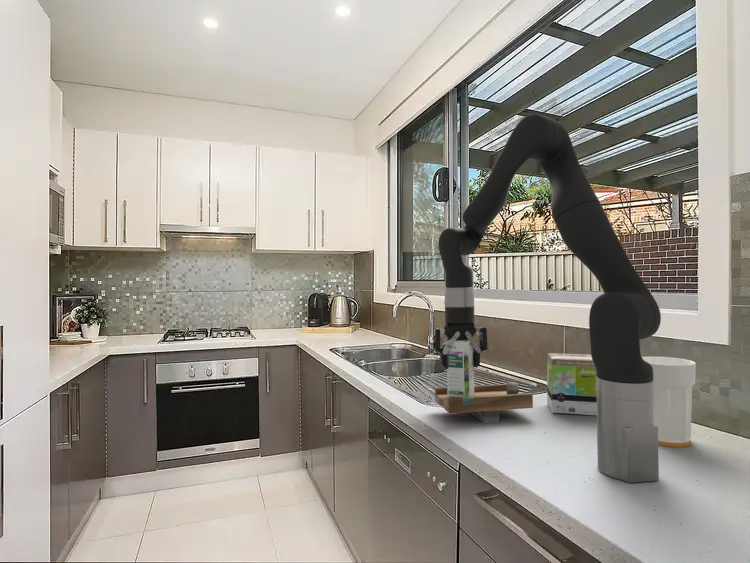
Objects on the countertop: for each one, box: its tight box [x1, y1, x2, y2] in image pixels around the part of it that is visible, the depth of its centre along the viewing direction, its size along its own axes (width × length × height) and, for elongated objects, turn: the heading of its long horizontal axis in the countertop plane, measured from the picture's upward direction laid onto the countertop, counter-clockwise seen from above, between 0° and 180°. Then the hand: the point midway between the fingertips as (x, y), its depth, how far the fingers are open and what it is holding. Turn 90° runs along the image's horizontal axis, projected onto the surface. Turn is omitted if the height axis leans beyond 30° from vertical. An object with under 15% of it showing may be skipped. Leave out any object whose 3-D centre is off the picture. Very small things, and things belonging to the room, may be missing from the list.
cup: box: [641, 355, 697, 448], centre depth 100 cm, size 11×11×17 cm
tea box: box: [546, 352, 597, 417], centre depth 123 cm, size 15×10×15 cm, turn 76°
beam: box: [434, 381, 534, 424], centre depth 120 cm, size 12×22×8 cm, turn 99°
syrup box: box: [446, 340, 475, 397], centre depth 118 cm, size 6×6×14 cm
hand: (460, 367), depth 118 cm, fingers closed on syrup box, 7 cm apart
